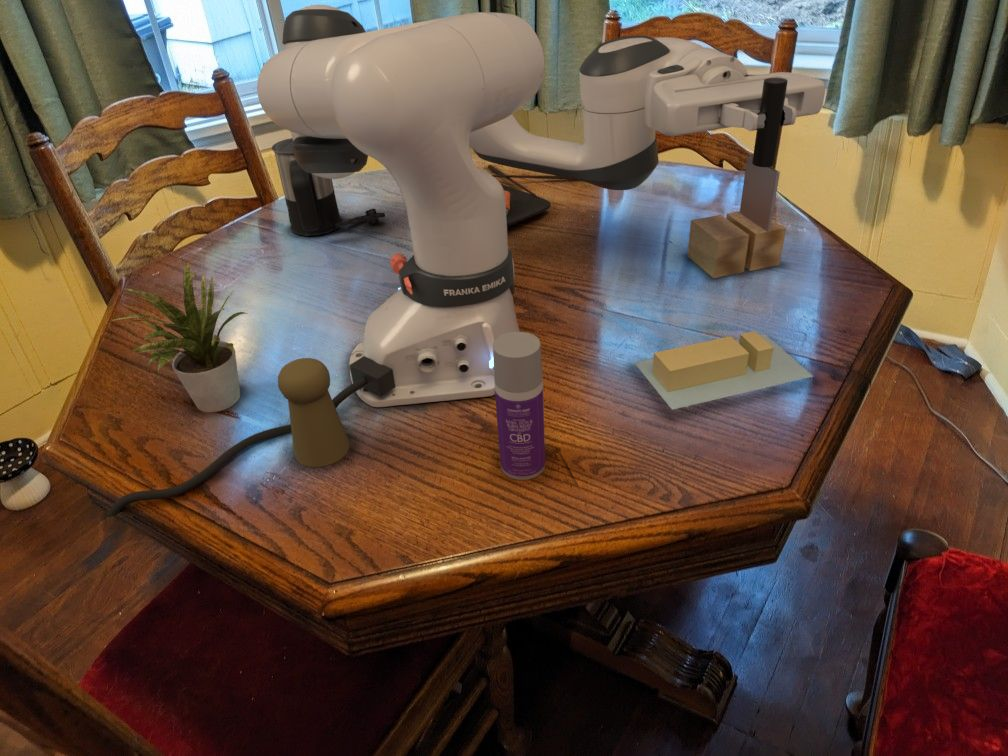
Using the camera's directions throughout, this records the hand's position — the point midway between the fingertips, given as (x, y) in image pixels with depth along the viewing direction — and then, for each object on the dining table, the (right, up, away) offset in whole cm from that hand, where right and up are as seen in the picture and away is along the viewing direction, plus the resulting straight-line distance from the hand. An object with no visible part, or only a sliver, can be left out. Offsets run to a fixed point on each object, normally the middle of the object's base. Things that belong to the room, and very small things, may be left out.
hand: (774, 120), depth 79 cm
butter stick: (-6, -27, +7) cm, 29 cm away
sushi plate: (-29, +7, +60) cm, 67 cm away
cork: (-49, -36, +1) cm, 61 cm away
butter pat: (+1, -26, +9) cm, 27 cm away
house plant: (-65, -30, +11) cm, 72 cm away
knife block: (+6, -10, +32) cm, 34 cm away
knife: (0, -9, +8) cm, 12 cm away
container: (-27, -37, -3) cm, 46 cm away
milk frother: (-59, -1, +51) cm, 78 cm away
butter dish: (-3, -28, +8) cm, 29 cm away
